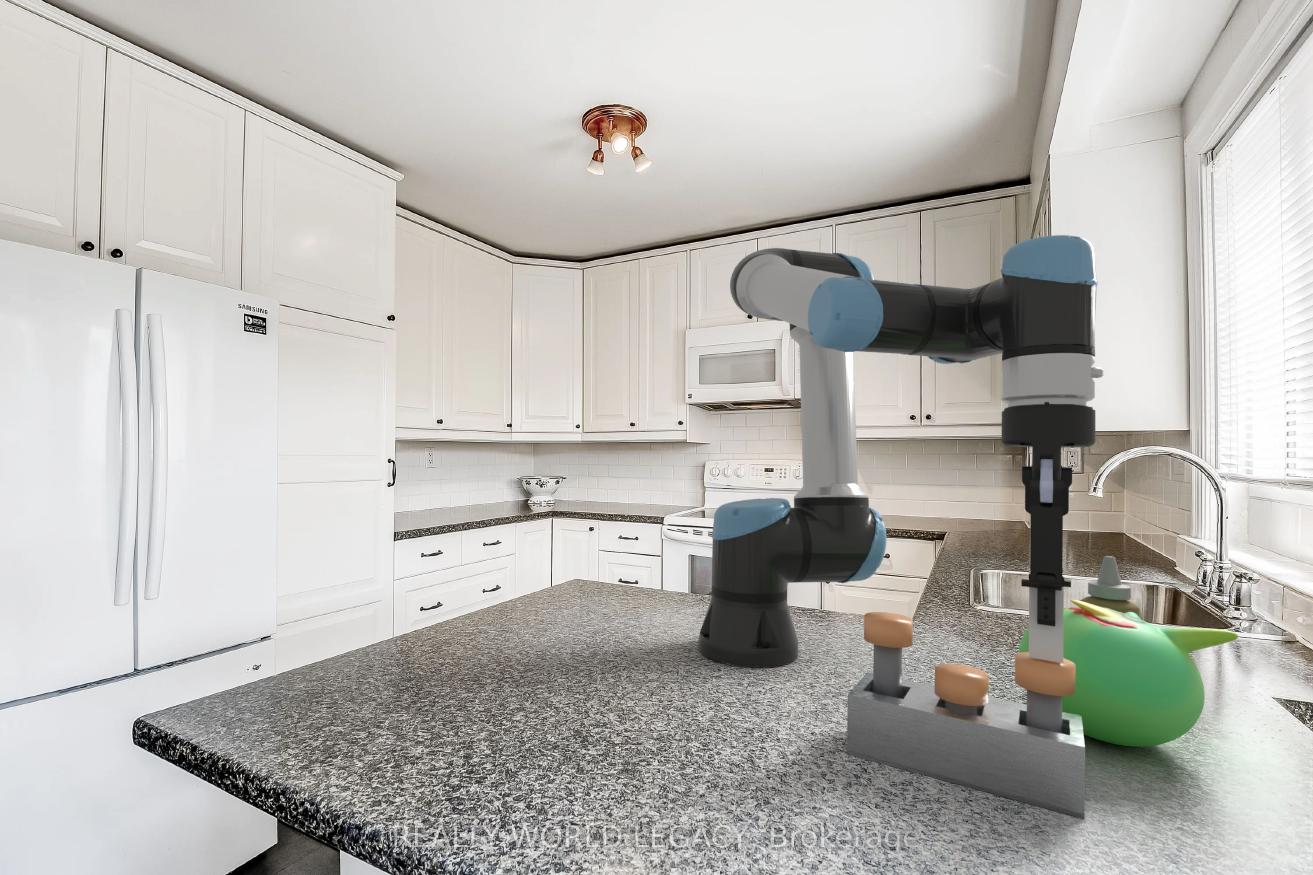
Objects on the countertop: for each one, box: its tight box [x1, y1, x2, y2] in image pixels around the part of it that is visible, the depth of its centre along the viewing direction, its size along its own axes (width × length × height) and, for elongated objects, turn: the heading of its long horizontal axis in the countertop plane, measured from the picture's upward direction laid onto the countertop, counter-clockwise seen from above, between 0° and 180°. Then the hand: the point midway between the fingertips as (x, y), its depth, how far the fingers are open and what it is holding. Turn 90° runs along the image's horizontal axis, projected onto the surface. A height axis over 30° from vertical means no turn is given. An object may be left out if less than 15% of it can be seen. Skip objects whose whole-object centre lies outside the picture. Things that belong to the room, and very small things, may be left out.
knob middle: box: [934, 663, 990, 715], centre depth 62 cm, size 5×5×8 cm
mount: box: [846, 672, 1086, 820], centre depth 62 cm, size 20×8×6 cm, turn 58°
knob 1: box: [863, 611, 914, 699], centre depth 66 cm, size 5×5×8 cm
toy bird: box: [1018, 598, 1239, 747], centre depth 70 cm, size 18×17×15 cm
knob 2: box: [1014, 652, 1076, 734], centre depth 58 cm, size 5×5×8 cm
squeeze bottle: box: [1079, 555, 1142, 620], centre depth 83 cm, size 8×8×18 cm
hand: (1045, 657), depth 58 cm, fingers closed
